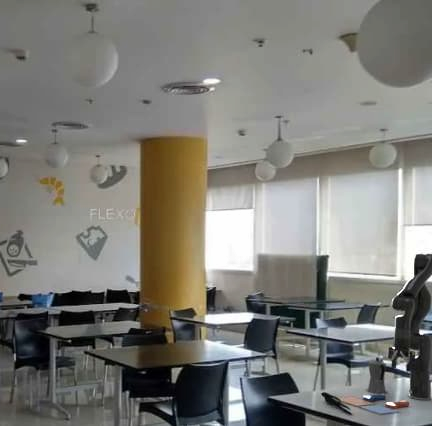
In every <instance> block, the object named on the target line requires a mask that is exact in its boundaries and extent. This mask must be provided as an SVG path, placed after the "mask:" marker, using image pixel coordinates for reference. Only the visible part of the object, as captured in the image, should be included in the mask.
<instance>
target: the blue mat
mask: <svg viewBox="0 0 432 426" xmlns="http://www.w3.org/2000/svg"><path fill="white" fill-rule="evenodd" d="M359 408H360V409H364V410H366V411H369V412H372V413H375V414H377V415H385V414H396V413H399V410H397V409H390V408H386V406H383V405H381V404H375V405H366V406H359Z"/></svg>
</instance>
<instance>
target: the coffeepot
mask: <svg viewBox="0 0 432 426" xmlns="http://www.w3.org/2000/svg"><path fill="white" fill-rule="evenodd" d="M379 360H380V358H379V357H375V360H372V361H371V360H370V361H368V371H369V376H370V378H369V383H368V388H367V391H368V392H370V393H373V394H386V385H385V374H386V368H387V363H386V362H383V361H379Z"/></svg>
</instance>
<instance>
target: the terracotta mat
mask: <svg viewBox="0 0 432 426" xmlns="http://www.w3.org/2000/svg"><path fill="white" fill-rule="evenodd" d="M338 398H339V399H340V401H341V403H346V404H348V405H350V406H354V407H362V406H372V405H376V404H375V403H374V402H367V401H364V400H363V399H360V398H357V397H354V396H347V397H338ZM335 400H337V399H335ZM337 401H338V400H337Z"/></svg>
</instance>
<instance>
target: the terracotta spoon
mask: <svg viewBox="0 0 432 426" xmlns="http://www.w3.org/2000/svg"><path fill="white" fill-rule="evenodd" d="M409 406H410V402H409V400H400V401H399V400H398V401H394V402H386V403H385V407H386V408H390V409H393V410H398V408H404V407H409Z"/></svg>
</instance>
